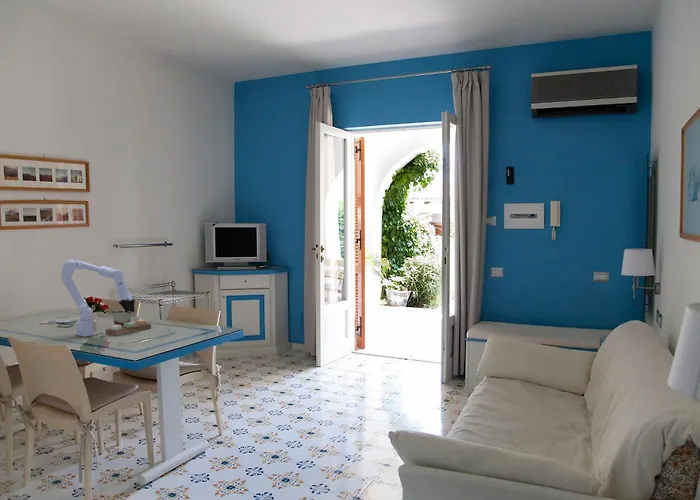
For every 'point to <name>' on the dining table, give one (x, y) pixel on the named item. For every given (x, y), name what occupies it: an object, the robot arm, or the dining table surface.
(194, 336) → the dining table surface
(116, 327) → the cream button
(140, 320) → the terracotta button
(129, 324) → the sage button
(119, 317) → the food container
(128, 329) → the button panel
